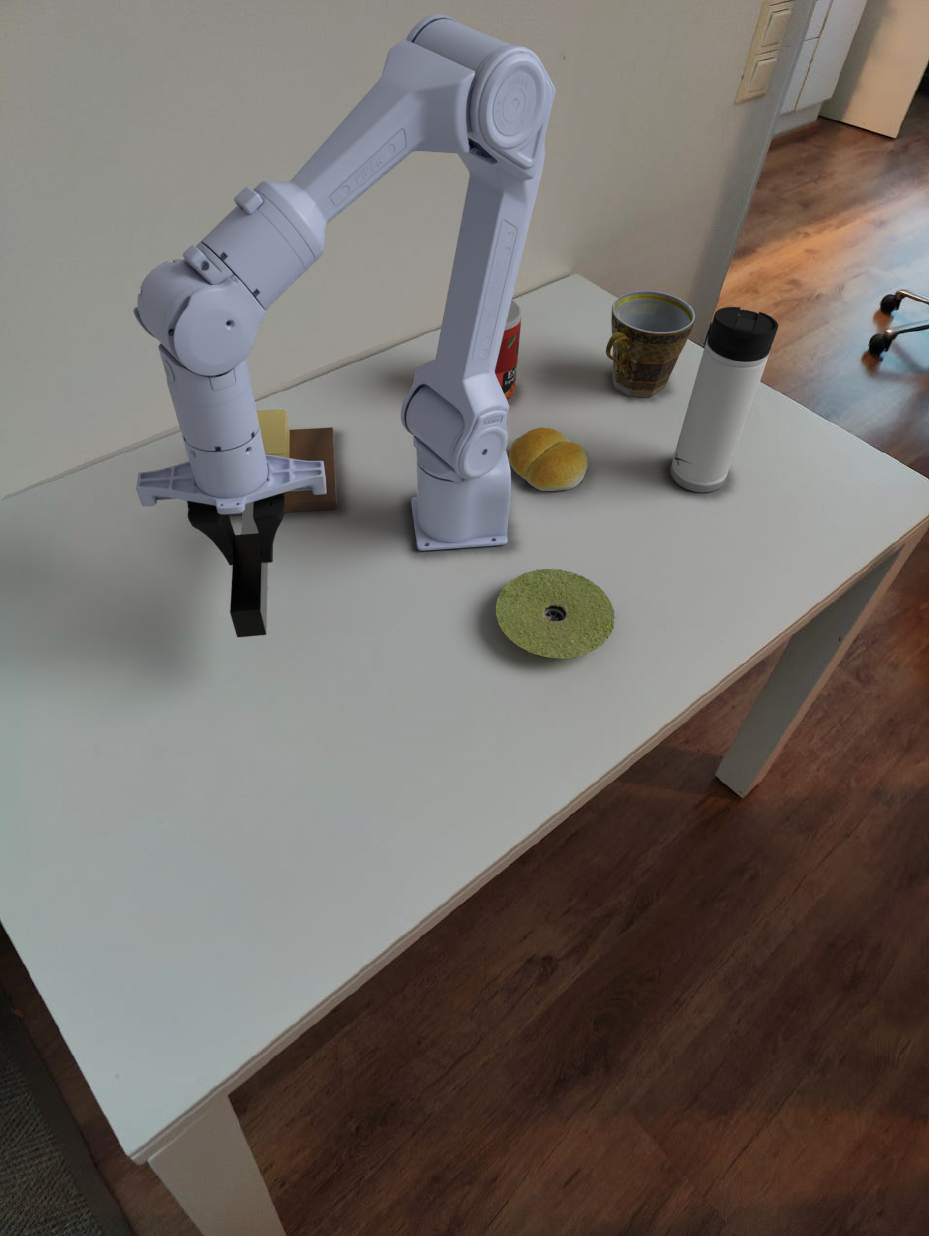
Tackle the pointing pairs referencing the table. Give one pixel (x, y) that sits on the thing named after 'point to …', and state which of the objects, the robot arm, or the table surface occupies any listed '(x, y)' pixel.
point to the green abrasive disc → (555, 613)
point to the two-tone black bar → (249, 580)
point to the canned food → (509, 351)
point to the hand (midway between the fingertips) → (251, 556)
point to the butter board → (312, 448)
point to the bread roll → (548, 460)
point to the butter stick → (274, 431)
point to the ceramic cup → (647, 340)
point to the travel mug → (722, 397)
